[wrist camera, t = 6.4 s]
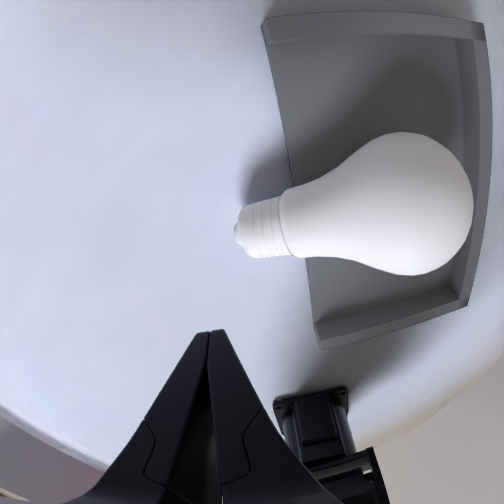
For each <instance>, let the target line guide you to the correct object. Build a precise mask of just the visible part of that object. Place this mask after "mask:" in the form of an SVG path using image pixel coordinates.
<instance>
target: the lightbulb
mask: <svg viewBox="0 0 504 504" xmlns="http://www.w3.org/2000/svg"><path fill="white" fill-rule="evenodd" d="M473 208H474V203H473V194H472V189H471V185H470V182H469V179H468V177H467V175H466V173H465V171H464V169H463V167H462V166H461V164H460V162H459V161H458V160H457V159H456V158H455V156H454V155H453V154H452V153H451V152H450V151H449V150H448V149H447V148H445V147H444V146H443V145H441V144H440V143H438V142H437V141H435V140H433V139H431V138H429V137H427V136H425V135H421V134H416V133H410V132H396V133H390V134H385V135H383V136H380V137H378V138H376V139H373V140H371V141H370V142H368V143H367V144H365V145H364V146H363V147H361V148H360V149H359V150H357V151H356V152H355V153H353V154H352V155H351V156H350V157H349V158H347V159H346V160H345V161H344V162H343V163H342V164H341V165H339V166H338V167H337V168H335V169H334V170H332V171H330V172H329V173H327V174H325V175H324V176H322V177H320V178H318V179H315V180H313V181H311V182H308V183H306V184H304V185H300V186H296V187H293V188H289V189H287V190H285V191H284V192H283V194H282V195H280V196H278V197H274V198H270V199H265V200H263V201H260V202H255V203H253V204H249V205H246V206H244V207H243V208H242V209H241V211H240V213H239V217H238V222H237V223H236V224H235V226H234V236H235V239H236V241H237V243H238V244H239V245H242V246H243V248H244V249H245V251H246V252H247V254H248V255H250V256H252V257H253V258H264V257H273V256H282V255H290V254H292V255H295V256H296V257H298V258H307V257H317V256H318V257H338V258H343V259H349V260H354V261H357V262H360V263H363V264H365V265H368V266H371V267H373V268H376V269H379V270H383V271H386V272H390V273H393V274H396V275H411V276H414V275H420V274H425V273H428V272H430V271H433V270H435V269H437V268H439V267H441V266H442V265H444V264H445V263H447V262H448V261H449V260H450V259H451V258H452V257H453V256H454V255H455V254H456V253H457V252H458V251H459V249H460V248H461V246H462V245H463V243H464V242H465V240H466V238H467V235H468V232H469V230H470V227H471V223H472V217H473Z"/></svg>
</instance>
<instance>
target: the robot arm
mask: <svg viewBox="0 0 504 504" xmlns="http://www.w3.org/2000/svg"><path fill="white" fill-rule="evenodd" d="M273 410H274V413H275V416H276V419H277V422H278V425H279V428H280V430H281V433H282V435H284V437H285V441H284V439H283V438H282V437H281V435H280V434H279V433H278V431H277V429H276V428H275V426H274V424H273V423H272V421H271V419H270V418H269V416H268V414H267V412H266V410H265V409H264V407H263V405H262V403H261V401H260V399H259V397H258V395H257V393H256V392H255V390H254V388H253V386H252V384H251V382H250V380H249V378H248V376H247V374H246V372H245V370H244V368H243V366H242V364H241V362H240V360H239V358H238V356H237V354H236V352H235V350H234V348H233V346H232V344H231V342H230V340H229V338H228V336H227V334H226V332H225V330H224V329H219V330H213V331H211V332H209V331H206V332H200V333H197V334H196V335H195V337H194V338H193V340H192V341H191V343H190V345H189V346H188V348H187V349H186V351H185V353H184V354H183V356H182V358H181V359H180V361H179V362H178V364H177V366H176V367H175V369H174V370H173V372H172V374H171V375H170V377H169V378H168V380H167V382H166V383H165V385H164V387H163V388H162V390H161V391H160V393H159V395H158V396H157V398H156V400H155V401H154V403H153V404H152V406H151V408H150V409H149V411H148V412H147V414H146V416H145V417H144V420H142V422H141V424H140V425H139V427H138V428H137V430H136V432H135V433H134V435H133V436H132V438H131V439H130V441H129V442H128V444H127V445H126V446H125V448H124V449H123V450H122V452H121V453H120V454H119V456H118V457H117V458H116V459H115V461H114V462H113V463H112V464H111V466H110V467H109V468H108V469H107V471H106V472H105V473H104V475H103V476H102V477H101V478H100V479H99V481H98V482H97V483H96V484H95V485H94V486H93V487H92V488H91V489H90V490H89V491H88V492H86V493H85V494H83V495H81V496H79V497H77V498H75V499H72V500H70V501H67V502H65V503H62V504H222V496H223V504H390V502H389V499H388V495H387V491H386V488H385V484H384V481H383V478H382V475H381V471H380V469H379V465H378V462H377V459H376V456H375V453H374V450H373V447H369V448H366V450H363V451H360V452H356V449H355V445H354V441H353V438H352V434H351V431H350V427H349V424H348V420H347V412H348V389H347V387H345V386H343V387H339V388H335V389H331V390H327V391H323V392H319V393H314V394H310V395H306V396H301V397H296V398H292V399H287V400H282V401H277V402H274V403H273ZM369 469H371V472H369V473H366V474H363V471H366V470H369Z"/></svg>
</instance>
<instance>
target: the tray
mask: <svg viewBox="0 0 504 504" xmlns="http://www.w3.org/2000/svg"><path fill="white" fill-rule="evenodd" d="M261 29H262V33H263V37H264V41H265V46H266V50H267V54H268V59H269V63H270V68H271V72H272V77H273V81H274V86H275V91H276V95H277V100H278V105H279V110H280V115H281V120H282V125H283V130H284V135H285V140H286V146H287V151H288V156H289V162H290V167H291V173H292V179H293V184H294V187H296V186H300V185H304V184H306V183H308V182H311V181H313V180H315V179H318V178H320V177H322V176H324V175H325V174H327V173H329V172H330V171H332V170H334V169H335V168H337V167H338V166H339V165H341V164H342V163H343V162H344V161H345V160H346V159H347V158H349V157H350V156H351V155H352V154H353V153H355V152H356V151H357V150H359V149H360V148H361V147H363V146H364V145H365V144H367V143H368V142H370V141H371V140H373V139H376V138H378V137H380V136H383V135H385V134H390V133H396V132H410V133H416V134H421V135H425V136H427V137H429V138H431V139H433V140H435V141H437V142H438V143H440V144H441V145H443V146H444V147H445V148H447V149H448V150H449V151H450V152H451V153H452V154H453V155H454V156H455V158H456V159H457V160H458V161H459V162H460V164H461V166H462V167H463V169H464V171H465V173H466V175H467V177H468V179H469V182H470V185H471V189H472V194H473V203H474V208H473V217H472V223H471V227H470V230H469V232H468V235H467V238H466V240H465V242H464V243H463V245H462V246H461V248H460V249H459V251H458V252H457V253H456V254H455V255H454V256H453V257H452V258H451V259H450V260H449V261H448V262H447V263H445V264H444V265H442V266H441V267H439V268H437V269H435V270H433V271H430V272H428V273H425V274H420V275H414V276H411V275H396V274H393V273H390V272H386V271H383V270H379V269H376V268H373V267H371V266H368V265H365V264H363V263H360V262H357V261H354V260H349V259H343V258H338V257H318V256H317V257H307V258H305V260H306V267H307V274H308V282H309V289H310V297H311V304H312V312H313V320H314V329H315V332H316V335H317V339H318V342H319V345H320V349H321V351H324V350H328V349H332V348H336V347H340V346H344V345H348V344H351V343H355V342H359V341H362V340H366V339H369V338H373V337H376V336H380V335H383V334H386V333H390V332H393V331H396V330H399V329H403V328H406V327H409V326H412V325H415V324H418V323H421V322H424V321H427V320H430V319H433V318H436V317H438V316H441V315H444V314H447V313H449V312H452V311H455V310H458V309H460V308H463V307H465V306H467V305H468V301H469V297H470V293H471V290H472V286H473V281H474V277H475V273H476V269H477V264H478V259H479V254H480V249H481V244H482V238H483V232H484V226H485V219H486V212H487V204H488V196H489V186H490V174H491V158H492V95H491V80H490V69H489V59H488V51H487V44H486V37H485V31H484V25H483V23H479V22H474V21H469V20H463V19H458V18H451V17H444V16H437V15H428V14H418V13H406V12H388V11H338V12H319V13H307V14H296V15H287V16H279V17H272V18H266V19H265V21H264V22H263V23H262V25H261Z"/></svg>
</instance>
